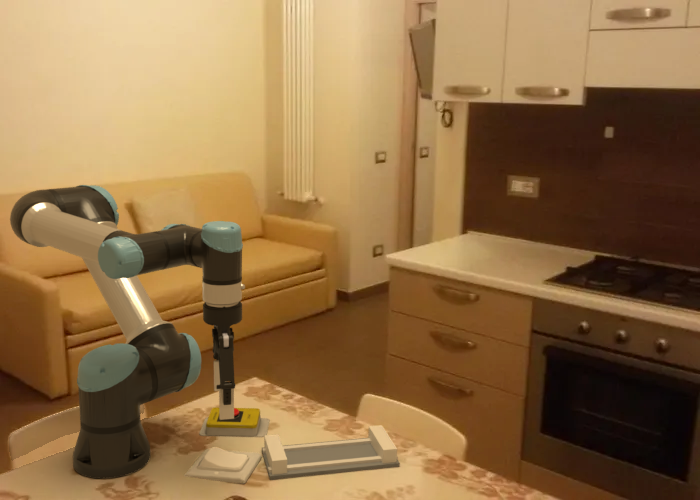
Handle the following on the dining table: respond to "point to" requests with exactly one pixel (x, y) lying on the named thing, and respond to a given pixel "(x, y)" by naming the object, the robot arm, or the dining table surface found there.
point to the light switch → (224, 465)
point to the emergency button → (236, 424)
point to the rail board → (329, 455)
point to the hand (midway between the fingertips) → (223, 403)
